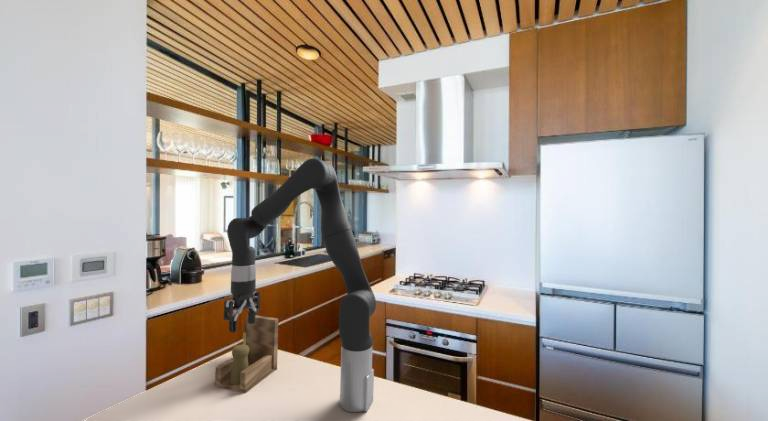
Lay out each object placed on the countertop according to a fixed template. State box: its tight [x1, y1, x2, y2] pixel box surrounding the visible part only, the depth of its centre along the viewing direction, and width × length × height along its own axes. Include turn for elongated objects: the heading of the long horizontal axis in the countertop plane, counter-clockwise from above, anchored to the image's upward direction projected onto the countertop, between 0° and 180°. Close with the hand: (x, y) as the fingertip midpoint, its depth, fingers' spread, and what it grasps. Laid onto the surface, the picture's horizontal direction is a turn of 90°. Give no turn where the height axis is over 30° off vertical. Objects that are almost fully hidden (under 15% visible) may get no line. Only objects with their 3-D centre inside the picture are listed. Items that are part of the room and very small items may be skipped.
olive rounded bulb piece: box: [230, 343, 249, 385], centre depth 104 cm, size 6×6×11 cm
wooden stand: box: [213, 315, 279, 394], centre depth 108 cm, size 12×16×18 cm
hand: (242, 327), depth 105 cm, fingers open, 8 cm apart
